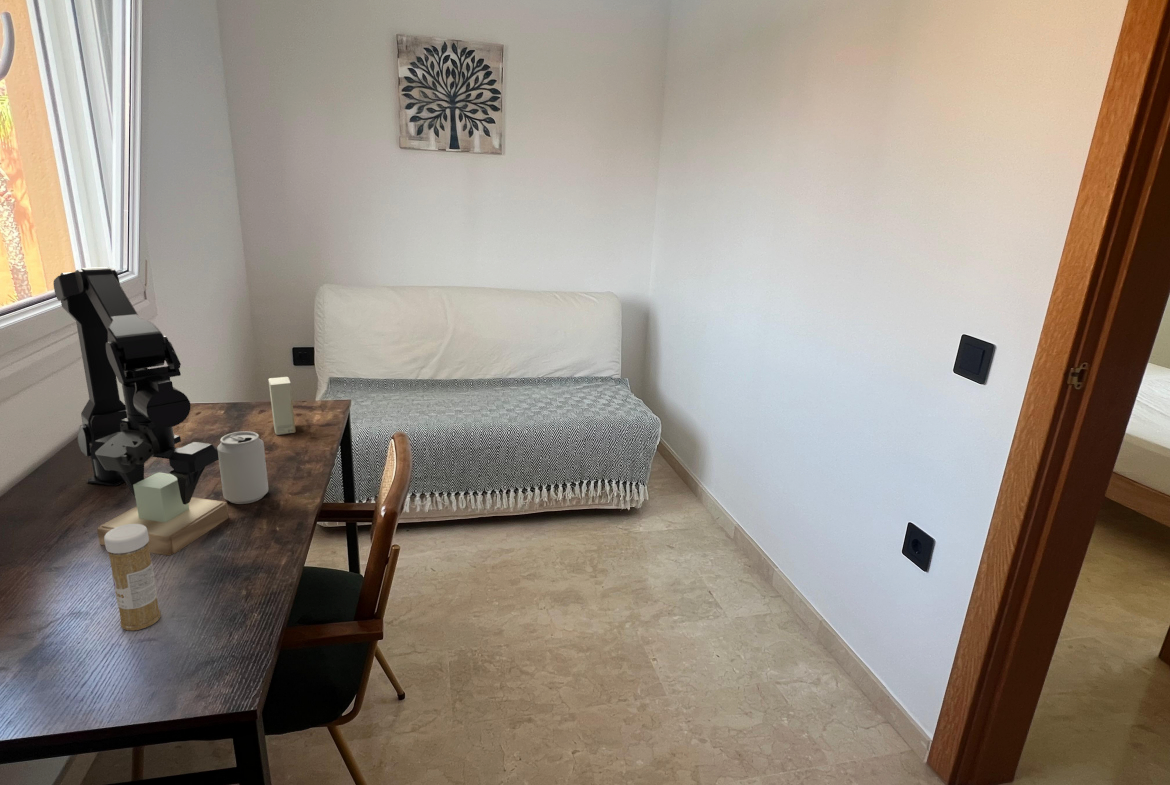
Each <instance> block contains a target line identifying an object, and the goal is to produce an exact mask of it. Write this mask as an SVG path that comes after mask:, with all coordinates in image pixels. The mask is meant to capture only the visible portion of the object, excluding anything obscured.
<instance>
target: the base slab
mask: <svg viewBox="0 0 1170 785" xmlns="http://www.w3.org/2000/svg"><path fill="white" fill-rule="evenodd" d="M228 509H229V508H228V501H222V500H215V499H208V498H202V497H195V496H194V497H193V496H192V498H191V500H190V502H189V509H188V510H186V511H185V512H183V513H181V514H180V515H178V516H176V517H174V518H173V519H171V520H169V521H168V522H166V523H165V522H158V521H152V520H146V519H139V516H138V510H137V505H136V506H135V507H132V508H130V509H128V510H126V511H125V512H123V513H121V514H119V515H118V516H116V517H114V518H112V519H110V520H108V521H107V522H104V523H103V524H100V525H99V526H98V527H97V528H96V531H97V537H98V542H99V545H102V546H105V541H104V536H105V534H106V533H107V532H109V531H110V530H112V529H114V528H116V527H119V526H122V525H127V524H141V525H144V526H146V528H147V531H148V536H149V544H148V546H149V552H150V554H157V555H162V556H163V555H164V556H167V557H168V556H169V557H170V556H171V555H173V554H174V555H175V554H177V553H178V552H180V551H181V550H183V549H184V548H185V547H188V545H190V544H191V543H193V542H194V541H196V540H198V539H199V538H200V537H202V536H203V535H205V534H207V533H208V532H210V531H211V530H213V529H214V528H216V527H218V525H221V524H222V523H223V522H225V521H226V520H228V518H229V516H230V515H229V510H228Z"/></svg>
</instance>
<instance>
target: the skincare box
mask: <svg viewBox="0 0 1170 785" xmlns="http://www.w3.org/2000/svg"><path fill="white" fill-rule="evenodd" d="M268 389H269V396H270V405H271V411H272V412H271V414H272V420H273V422H272V423H273V428H274V433H275V435H276V436H280V435H289V434H294V433H296V423H295V414H294V404H293V397H292V394H293V393H292V386H291V380H290V378H289V377H288V376H280V377H279V376H278V377H270V378H268Z"/></svg>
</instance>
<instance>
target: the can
mask: <svg viewBox="0 0 1170 785" xmlns="http://www.w3.org/2000/svg"><path fill="white" fill-rule="evenodd" d="M259 437H260V435H259V434H258V433H257V432H254V431H249V430H248V431H245V430H244V431H243V430H242V431H234V432H232V433H228V434H225V435H224V436H222V437H221V438H220V439H219V440H220V443H219V444H218V446H216V447H217V450H218V457H219V460H218V465H219V472H220V473H219V474H220V480H221V489H222V495H223V499H225V500H226V501H227V502H230V503H231V504H236V505H244V504H246V505H247V504H251V503H255V502H257V501H259V500H261V499H262V498H264V496H266V494H268V493H269V482H268V472H267V471H268V470H267V464H266V462H267V461H266V453H265V452H266V451H265V443H264V440H262V439H260V438H259Z"/></svg>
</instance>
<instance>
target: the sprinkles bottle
mask: <svg viewBox="0 0 1170 785" xmlns="http://www.w3.org/2000/svg"><path fill="white" fill-rule="evenodd" d="M104 541H105V545H104V546H105V550H106V551H107V553H108V556H109V562H110V567H111V572H112V574H111V575H112V576H111V577H112V580H113V586H114V592H115V598H116V603H117V606H118V612H119V618H120V621H119V622H120V623H119V624H120V627H121V628H122V629H123V630H127V631H139V630H142V629H145V628H148V627H151V626H153V625H154V624H155V623H156V622H158V621H159V620H160V617H161V616H162V613H161V611H160V609H159V607H160V606H159V603H158V597H157V596H158V593H157V592H158V591H157V585H156V578H155V573H154V567H153V566H154V565H153V561H152V557H151V553H150V552H149V546H148V544H149V536H148V531H147V528H146V526H144V525H141V524H127V525H122V526H119V527H116V528H114V529H112V530H110V531H109V532H107V533H106V534H105V536H104Z"/></svg>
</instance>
